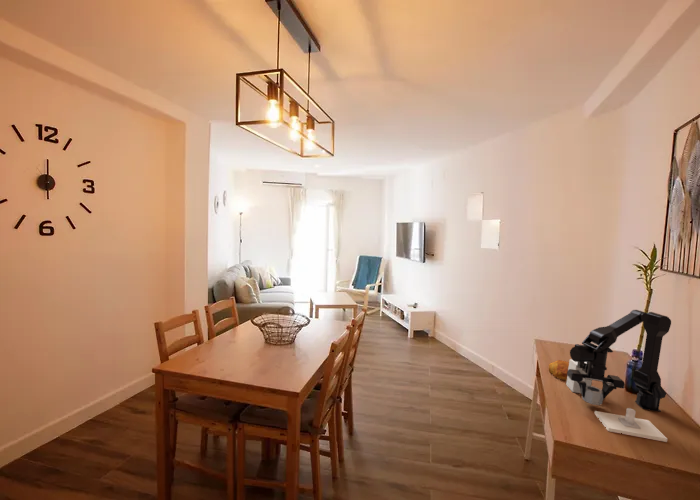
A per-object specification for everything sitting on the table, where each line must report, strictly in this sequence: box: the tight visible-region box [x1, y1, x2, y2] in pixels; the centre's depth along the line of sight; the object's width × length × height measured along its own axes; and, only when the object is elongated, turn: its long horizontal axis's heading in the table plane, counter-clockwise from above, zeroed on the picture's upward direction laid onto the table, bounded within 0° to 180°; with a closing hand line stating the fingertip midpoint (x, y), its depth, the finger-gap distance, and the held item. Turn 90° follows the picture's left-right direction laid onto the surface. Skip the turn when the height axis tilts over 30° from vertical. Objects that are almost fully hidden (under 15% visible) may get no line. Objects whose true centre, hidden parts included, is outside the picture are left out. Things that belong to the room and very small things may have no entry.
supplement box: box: [565, 358, 593, 394], centre depth 160 cm, size 7×7×13 cm
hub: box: [581, 385, 604, 406], centre depth 145 cm, size 6×6×5 cm
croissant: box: [548, 359, 569, 382], centre depth 174 cm, size 14×16×8 cm
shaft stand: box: [594, 407, 668, 443], centre depth 132 cm, size 18×12×7 cm, turn 76°
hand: (592, 398), depth 146 cm, fingers closed on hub, 6 cm apart
